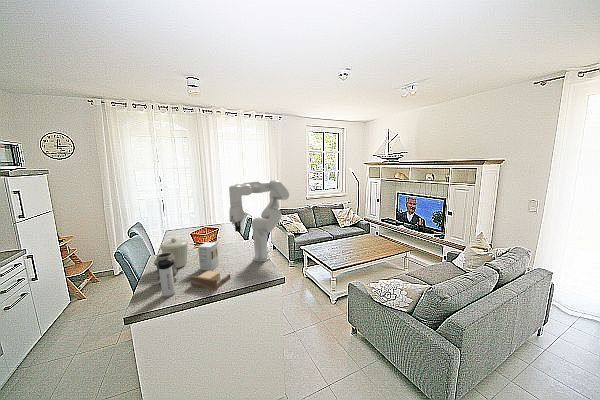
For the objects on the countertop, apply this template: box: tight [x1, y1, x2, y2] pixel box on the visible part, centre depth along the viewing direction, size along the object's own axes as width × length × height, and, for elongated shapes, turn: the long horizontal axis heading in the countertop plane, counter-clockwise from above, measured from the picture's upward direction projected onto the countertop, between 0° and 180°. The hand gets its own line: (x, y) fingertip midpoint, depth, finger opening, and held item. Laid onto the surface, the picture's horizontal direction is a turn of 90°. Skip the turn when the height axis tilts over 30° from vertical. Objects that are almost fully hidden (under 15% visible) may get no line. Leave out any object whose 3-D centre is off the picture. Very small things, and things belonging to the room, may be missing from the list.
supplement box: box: [197, 241, 220, 271], centre depth 168 cm, size 10×9×17 cm
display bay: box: [189, 273, 231, 292], centre depth 147 cm, size 16×18×6 cm
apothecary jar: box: [153, 252, 179, 287], centre depth 148 cm, size 12×12×18 cm
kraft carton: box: [197, 270, 221, 282], centre depth 148 cm, size 10×9×5 cm
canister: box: [159, 237, 189, 270], centre depth 171 cm, size 18×18×21 cm
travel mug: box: [158, 260, 176, 299], centre depth 133 cm, size 6×7×20 cm
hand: (238, 231), depth 160 cm, fingers closed
